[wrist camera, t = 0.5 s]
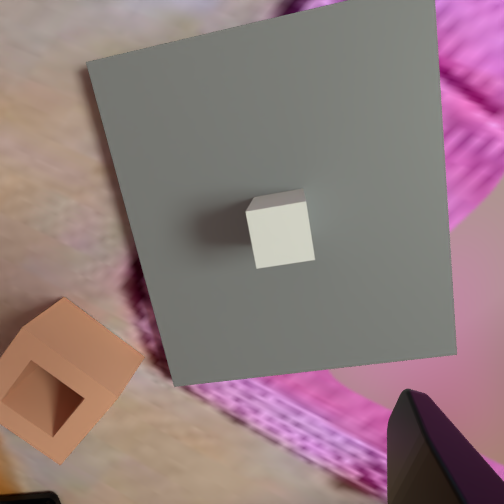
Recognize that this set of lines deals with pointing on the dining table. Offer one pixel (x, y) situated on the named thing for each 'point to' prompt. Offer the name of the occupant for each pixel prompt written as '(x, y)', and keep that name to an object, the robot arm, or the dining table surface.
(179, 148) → the post plate
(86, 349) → the collar
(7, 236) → the dining table surface
